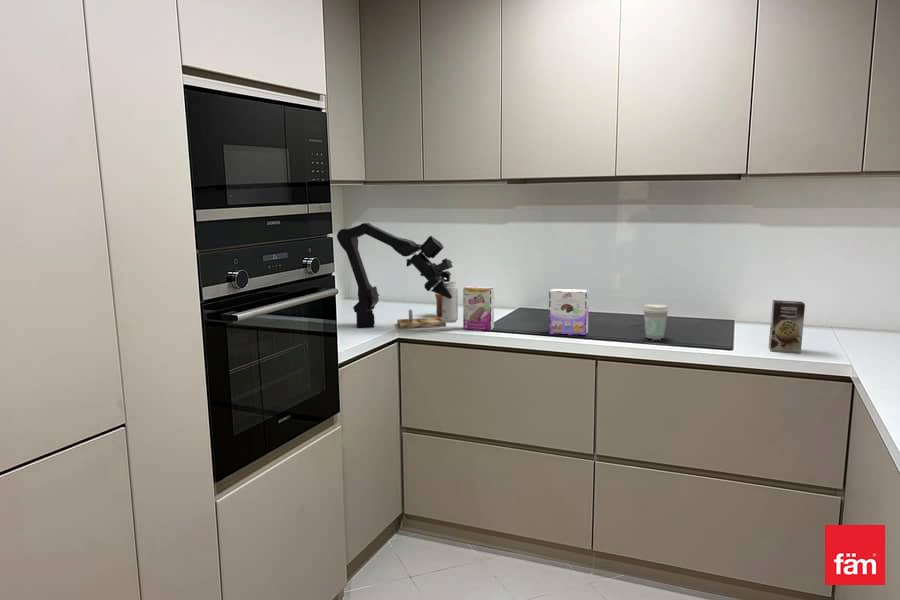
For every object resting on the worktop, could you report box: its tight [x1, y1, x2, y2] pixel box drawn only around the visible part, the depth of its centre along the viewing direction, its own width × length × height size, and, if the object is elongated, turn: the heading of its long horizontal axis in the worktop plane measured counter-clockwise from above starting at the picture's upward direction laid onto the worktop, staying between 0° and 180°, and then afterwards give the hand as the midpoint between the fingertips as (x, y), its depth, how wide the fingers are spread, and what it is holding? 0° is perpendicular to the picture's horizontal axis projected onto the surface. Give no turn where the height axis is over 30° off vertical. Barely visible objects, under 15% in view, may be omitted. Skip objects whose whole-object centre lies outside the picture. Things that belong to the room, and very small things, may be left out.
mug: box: [434, 292, 442, 318], centre depth 276 cm, size 12×9×10 cm
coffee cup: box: [642, 303, 669, 339], centre depth 233 cm, size 8×8×12 cm
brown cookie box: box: [768, 299, 806, 354], centre depth 215 cm, size 9×6×16 cm
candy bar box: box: [462, 285, 495, 332], centre depth 252 cm, size 11×5×16 cm, turn 72°
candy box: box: [548, 288, 590, 336], centre depth 243 cm, size 14×6×16 cm, turn 70°
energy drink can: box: [442, 281, 459, 324], centre depth 250 cm, size 6×6×15 cm
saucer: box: [408, 308, 414, 323], centre depth 260 cm, size 1×6×6 cm, turn 12°
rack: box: [396, 317, 447, 330], centre depth 262 cm, size 18×9×2 cm, turn 102°
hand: (453, 296), depth 250 cm, fingers closed on energy drink can, 6 cm apart
